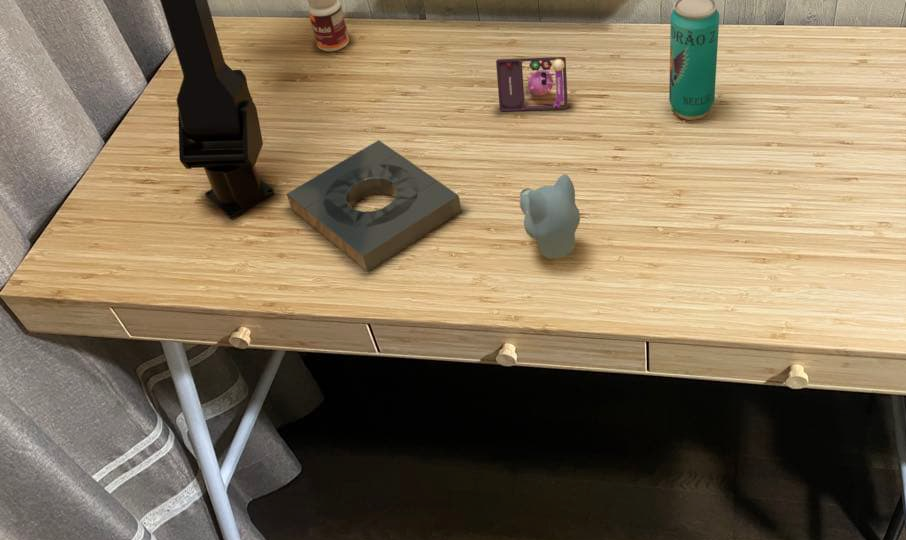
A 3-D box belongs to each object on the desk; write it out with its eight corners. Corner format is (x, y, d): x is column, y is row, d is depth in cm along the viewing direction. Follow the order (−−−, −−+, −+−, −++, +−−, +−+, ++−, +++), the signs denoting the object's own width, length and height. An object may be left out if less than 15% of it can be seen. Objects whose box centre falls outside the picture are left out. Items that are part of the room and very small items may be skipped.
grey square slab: (461, 211, 121) (458, 195, 119) (367, 272, 115) (363, 256, 113) (382, 155, 129) (378, 139, 127) (291, 209, 123) (285, 193, 122)
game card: (495, 61, 130) (565, 58, 129) (499, 51, 134) (567, 49, 133) (499, 112, 133) (567, 110, 132) (503, 101, 137) (569, 99, 136)
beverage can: (662, 102, 132) (663, -2, 121) (702, 92, 133) (707, -13, 122) (679, 127, 128) (682, 22, 117) (721, 116, 129) (728, 10, 118)
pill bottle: (311, 48, 148) (296, -4, 142) (330, 32, 150) (316, -20, 144) (337, 55, 146) (323, 2, 140) (356, 38, 149) (343, -15, 143)
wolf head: (549, 214, 119) (542, 145, 112) (592, 254, 114) (588, 186, 106) (505, 236, 117) (495, 168, 110) (546, 278, 112) (539, 210, 104)
